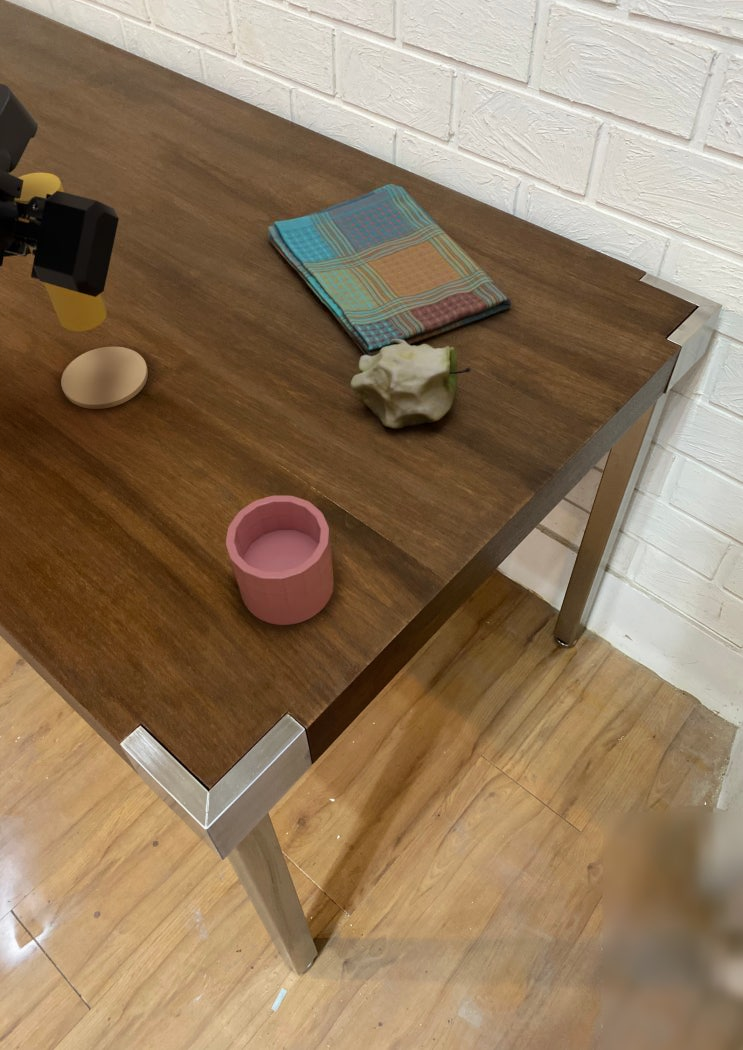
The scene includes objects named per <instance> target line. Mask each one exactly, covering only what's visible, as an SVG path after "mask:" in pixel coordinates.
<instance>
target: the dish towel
mask: <svg viewBox="0 0 743 1050" xmlns="http://www.w3.org/2000/svg"><path fill="white" fill-rule="evenodd" d="M267 230H268V232H267V233H266V236H267V239H268V242H270V244H271V245H272V246H273V247H274V248H275V249H276V251H277V252H278V253H279V254H280V255H281V256H282V257H283V258H284V259H285V261H287V263H288V264H289V265H290V266H291V268H293V269H294V270H295V271H296V272H297V273H298V275H299V276H300V277H301V278H302V279H303V280H304V282H305V283H306V285H307V286H308V287H309V288H310V289H311V290H312V292H313V293H314V294H315V295H316V296H317V298H318V299H319V300H320V301H321V303H322V304H324V305H325V306H326V308H327V309H328V311H330V312H331V313H332V315H333V317H335V319H336V320H337V321H338V323H339V324H340V326H341V327H342V328H343V329H344V330H345V332H346V333H347V334H348V336H349V337H350V338H351V339H352V341H353V342H354V343H355V345H356V346H357V347H358V348H359V350H361V352H362V353H363V355H369V356H375V355H377V354H378V353H379V352H380V350H381V349H382V348H383V347H386V346H390V345H397V344H398V343H396V342H392V341H391V340H393V339H401V340H404V341H405V342H406V343H407V344H409V345H410V346H411V345H412V344H415V343H417V342H421V341H422V340H426V339H429V338H431V337H434V336H437V335H439V334H442V333H444V332H448V331H451V330H453V329H456V328H459V327H462V326H464V325H467V324H470V323H473V322H475V321H478V320H479V321H480V320H482V319H483V318H487V317H489V316H491V315H495V314H497V313H500V312H503V311H505V310H507V309H509V308H511V307H512V301H511V298H510V297H509V296H508V295H507V294H506V293H505V292H504V291H503V290H502V289H501V288H500V287H499V286H498V285H497V284H496V283H495V282H494V281H493V279H492V278H491V277H490V276H489V275H488V274H487V273H486V272H485V270H484V269H483V268H481V266H479V264H478V263H477V262H475V261H474V260H473V258H472V257H470V256H469V254H468V253H467V252H466V251H465V250H464V249H463V248H462V247H461V246H460V245H459V244H458V242H456V241H455V240H454V239H453V238H451V237H450V234H448V233H447V232H446V231H445V230H444V229H442V228H441V226H440V225H438V223H437V222H435V220H434V219H433V218H432V217H431V216H430V215H429V214H428V213H427V212H426V211H425V210H424V209H423V208H422V207H421V205H419V203H417V201H416V200H415V199H414V198H413V197H412V196H411V195H410V194H409V193H408V192H407V191H406V189H404V188H403V186H397V185H396V184H393V183H389V184H386V185H383V186H381V187H378V188H376V189H374V190H372V191H369V192H367V193H364V194H362V195H360V196H357V197H354V198H352V199H349V200H346V201H343V202H340V203H337V204H334V205H332V206H329V207H327V208H325V209H321V210H320V211H317V212H313V213H311V214H310V213H309V214H308V215H307V214H306V215H304V216H301V217H296V218H291V219H285V220H280V221H279V220H278V221H274V223H273V225H270V226H267Z"/></svg>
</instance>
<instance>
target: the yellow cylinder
mask: <svg viewBox="0 0 743 1050" xmlns="http://www.w3.org/2000/svg"><path fill="white" fill-rule="evenodd" d="M17 178H19V179H22V180H24V181H23V186H22V192H21V197H20V198H19V199H17V198H15V199H14V201H17V202H21V203H25V204H27V203H28V202H29V200H30V199H31V198H32V197H35V196H38V197H42V198H46V195H47V194H50V195H52V194H54V193H55V192H56V191H61V192H65V190H64V186H63V184H62V182H61V179H60V178H59V177H58V176H57V175H55V174H53V173H50V172H33V173H27V174H24V175H20V176H18V177H17ZM30 218H32V219H36V218H33V217H30ZM19 220H20V221H24V222H27V223H29V220H26V219H23V218H19ZM25 239H26V238H25ZM29 249H30V252H31V254H30V255H31V256H32V259H33V260H34V257H35V256H33V255H32V251H33V249H34V248H31V247H29ZM42 283H43V285H44V288H45V291H46V292H47V295H48V297H49V299H50V302H51V304H52V306H53V309H54V312H55V314H56V316H57V318H58V321H59V323H60V325H61V327H63V328H64V329H65V330H67V331H71V332H86V331H90V330H93V329H95V328H98V326H100V325H101V324H102V323H103V322H104V321H105V320H106V317H107V316H108V315H107V314H108V313H107V308H106V306H105V303H104V300H103V297H102V293H100V294H99V295H98V296H96V297H94V296H90V295H87V294H83V293H79V292H76V291H73V290H69V289H66V288H62V287H59V286H55V285H52V284H48V283H45V282H42Z"/></svg>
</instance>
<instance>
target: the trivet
mask: <svg viewBox="0 0 743 1050" xmlns="http://www.w3.org/2000/svg"><path fill="white" fill-rule="evenodd" d="M148 377H149V369H148V365H147V363H146V360H145V359H144V358H143V356H141V354H140V353H138V352H137V351H135V350H133V349H130V348H128V347H123V346H114V345H113V346H112V345H111V346H103V347H98V348H94V349H91V350H88V351H86V352H84V353H82V354H80V355H79V356H77V357H75V358H74V359H73V360H72V361H71V362H69V364H68V365H67V366H66V368H65V369H64V370H63V373H62V374H61V380H60V385H61V389H62V391H63V393H64V395H65V397H66V398H67V400H69V401H70V403H72V404H74V405H76V406H78V407H81V408H85V409H90V410H100V409H101V410H103V409H109V408H113V407H117V406H120V405H122V404H124V403H126V402H129V401H130V400H131V399H133V398H134V397H136V396H137V395H138V394H139V393H140V392H141V391H142V390H143V388H144V387H145V385H146V383H147V381H148Z"/></svg>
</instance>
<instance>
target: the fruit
mask: <svg viewBox="0 0 743 1050" xmlns="http://www.w3.org/2000/svg"><path fill="white" fill-rule="evenodd" d="M391 341H392V342H396V343H398V344H397V345H390V346H386V347H383V348H382V349H381V350H380V352H379V353H378V354H377V355H375V356H369V355H365V354H363V355H361V356H360V358H359V361H358V365H357V366H358V370H359V371H360V373H357V374H355V375H353V377H352V379H351V381H350V388H351V389H352V391H353V393H355V395H360V396H361V401H362V402H363V403H364V405H365V406H366V407H368V409H370V410H371V412H372V413H373V414H374V415H375V416H376V417H377V418H378V419H379V421H380V422H381V424H382V425H383V426H384V427H385V428H386V427H387V428H390V429H393V430H395V429H401V428H405V427H413V426H419V425H423V424H427V423H429V424H431V423H434V422H437V421H440V420H441V419H442V418H443V417H445V416H446V414H448V413H449V412H450V410H451V409H452V406H453V403H454V400H455V397H456V395H457V387H458V374H464V373H469V372H471V371H472V369H471V366H469V367H466V368H464V369H462V370H459V369H458V361H459V360H458V356H457V351H456V350H455V347H454V346H450V345H446V346H445V347H437V348H434V347H433V346H431V345H429V344H427V343H422V344H420V345H411V344H410V345H409V344H407V343H406V342H405V341H404V340H401V339H393V340H391Z"/></svg>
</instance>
